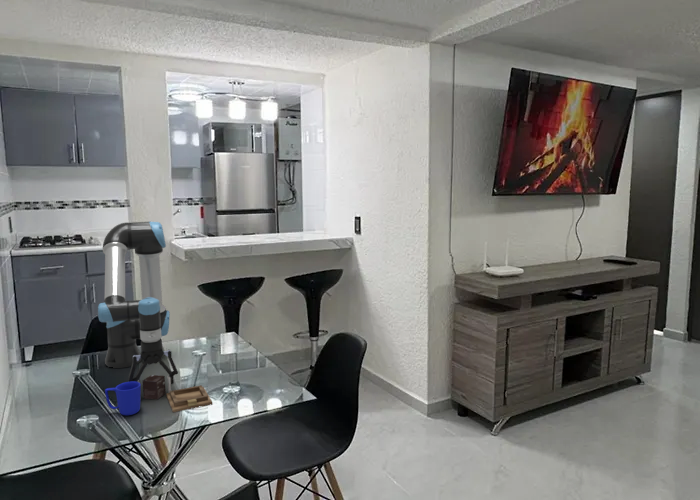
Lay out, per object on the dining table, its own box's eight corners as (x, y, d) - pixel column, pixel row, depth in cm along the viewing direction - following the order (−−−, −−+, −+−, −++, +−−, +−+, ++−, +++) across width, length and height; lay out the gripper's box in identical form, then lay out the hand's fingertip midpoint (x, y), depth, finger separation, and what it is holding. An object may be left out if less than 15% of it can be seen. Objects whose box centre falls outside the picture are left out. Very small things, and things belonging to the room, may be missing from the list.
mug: (111, 408, 188) (109, 382, 187) (145, 406, 189) (143, 380, 188) (102, 418, 180) (100, 391, 179) (138, 416, 181) (136, 389, 180)
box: (157, 400, 195) (156, 381, 194) (143, 398, 196) (141, 380, 195) (166, 393, 201) (165, 375, 200) (152, 392, 202) (151, 374, 201)
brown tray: (166, 395, 199) (166, 389, 198) (203, 388, 205) (203, 382, 205) (172, 412, 185) (172, 405, 184) (212, 404, 191) (212, 397, 191)
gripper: (118, 347, 187) (123, 404, 190) (184, 337, 198) (187, 392, 201) (117, 341, 194) (121, 397, 197) (180, 332, 204) (183, 386, 207)
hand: (154, 395), depth 199 cm, fingers open, 10 cm apart
